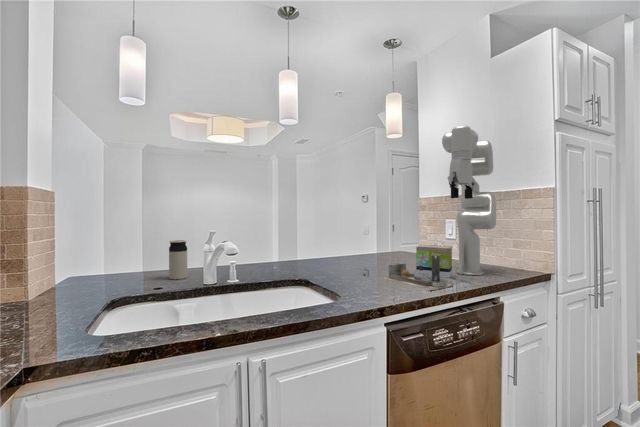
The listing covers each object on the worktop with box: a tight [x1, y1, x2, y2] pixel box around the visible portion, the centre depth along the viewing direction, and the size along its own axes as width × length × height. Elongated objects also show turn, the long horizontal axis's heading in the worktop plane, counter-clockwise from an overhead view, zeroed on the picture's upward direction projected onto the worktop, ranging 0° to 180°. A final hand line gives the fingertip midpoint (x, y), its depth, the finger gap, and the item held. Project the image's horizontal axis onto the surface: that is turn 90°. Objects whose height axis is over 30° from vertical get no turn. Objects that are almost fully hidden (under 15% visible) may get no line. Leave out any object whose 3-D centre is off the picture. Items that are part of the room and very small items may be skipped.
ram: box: [414, 255, 449, 288], centre depth 131 cm, size 7×12×12 cm, turn 34°
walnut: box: [401, 269, 410, 278], centre depth 142 cm, size 4×4×4 cm
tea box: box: [415, 244, 453, 278], centre depth 152 cm, size 15×10×15 cm
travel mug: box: [168, 239, 188, 280], centre depth 153 cm, size 8×8×18 cm
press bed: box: [383, 262, 454, 293], centre depth 137 cm, size 14×26×7 cm, turn 34°
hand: (461, 198), depth 132 cm, fingers open, 9 cm apart
